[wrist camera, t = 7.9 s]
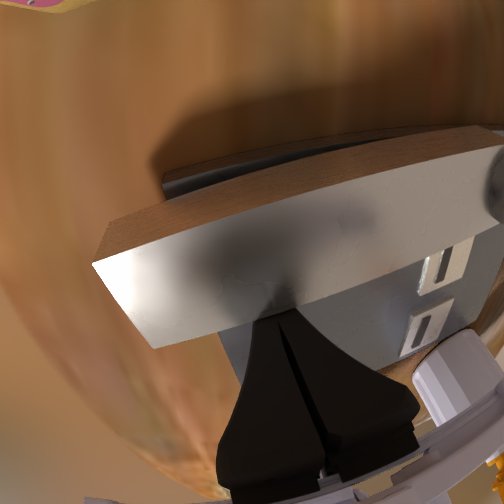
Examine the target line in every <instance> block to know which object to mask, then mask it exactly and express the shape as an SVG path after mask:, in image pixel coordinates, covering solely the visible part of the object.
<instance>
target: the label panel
mask: <svg viewBox="0 0 504 504" xmlns="http://www.w3.org/2000/svg"><path fill="white" fill-rule="evenodd" d="M474 125H478V126H480V127H483V128H485V129H487V130H490V131H492V132H494V133H496V134H499V135H501V136H503V137H504V125H498V124H456V125H431V126H415V127H402V128H391V129H381V130H372V131H363V132H355V133H347V134H340V135H333V136H327V137H320V138H314V139H308V140H303V141H297V142H292V143H286V144H281V145H276V146H271V147H266V148H261V149H257V150H252V151H248V152H243V153H239V154H235V155H230V156H226V157H222V158H218V159H214V160H210V161H206V162H203V163H199V164H195V165H192V166H188V167H184V168H181V169H177V170H174V171H170V172H167V173H164V177H163V181H162V187H163V190H164V193H165V196H166V199H167V200H170V199H173V198H175V197H178V196H181V195H184V194H187V193H190V192H193V191H196V190H199V189H202V188H205V187H208V186H211V185H214V184H217V183H220V182H223V181H226V180H230V179H233V178H236V177H239V176H243V175H246V174H249V173H253V172H256V171H259V170H263V169H266V168H270V167H273V166H277V165H281V164H284V163H288V162H292V161H295V160H299V159H303V158H307V157H311V156H315V155H319V154H323V153H327V152H331V151H335V150H340V149H344V148H348V147H353V146H357V145H362V144H367V143H371V142H376V141H381V140H386V139H391V138H397V137H402V136H407V135H413V134H419V133H425V132H431V131H437V130H444V129H451V128H458V127H466V126H474ZM503 258H504V224H501V223H499V224H497V225H495V226H493V227H491V228H489V229H487V230H485V231H483V232H481V233H479V234H477V235H475V236H473V237H471V238H469V239H466V240H464V241H462V242H460V243H458V244H456V245H454V246H451V247H449V248H447V249H445V250H442V251H440V252H438V253H436V254H433V255H431V256H429V257H426V258H424V259H422V260H420V261H417V262H415V263H412V264H410V265H408V266H405V267H403V268H400V269H398V270H395V271H393V272H391V273H388V274H386V275H383V276H381V277H378V278H375V279H373V280H370V281H368V282H365V283H363V284H360V285H357V286H355V287H352V288H349V289H347V290H344V291H341V292H338V293H336V294H333V295H330V296H327V297H325V298H322V299H319V300H316V301H313V302H310V303H307V304H304V305H302V306H299V307H296V308H297V309H298V310H299V312H300V313H301V314H302V315H303V316H304V317H305V318H306V319H307V320H308V321H309V322H310V323H311V324H312V325H313V326H314V327H315V328H316V329H317V330H318V331H319V332H321V333H322V334H323V335H324V336H325V337H326V338H327V339H329V340H330V341H331V342H332V343H334V344H335V345H336V346H337V347H339V348H340V349H341V350H343V351H344V352H346V353H347V354H348V355H350V356H351V357H353V358H354V359H356V360H358V361H359V362H361V363H362V364H364V365H366V366H367V367H369V368H371V369H372V370H374V371H377V370H379V369H381V368H384V367H386V366H388V365H391V364H393V363H395V362H397V361H400V360H402V359H404V358H406V357H408V356H410V355H412V354H414V353H417V352H419V351H421V350H423V349H425V348H427V347H429V346H431V345H433V344H434V343H436V342H438V341H440V340H442V339H444V338H446V337H448V336H449V335H451V334H453V333H455V332H457V331H458V330H460V329H462V328H464V327H465V326H467V325H469V324H470V323H472V322H474V321H475V320H477V318H478V316H479V314H480V312H481V310H482V308H483V306H484V304H485V302H486V299H487V297H488V295H489V293H490V290H491V288H492V286H493V283H494V281H495V279H496V276H497V274H498V271H499V269H500V266H501V263H502V261H503ZM252 326H253V321H252V322H249V323H246V324H242V325H239V326H236V327H232V328H229V329H225V330H222V331H219V332H218V335H219V337H220V339H221V342H222V344H223V346H224V349H225V351H226V353H227V355H228V358H229V360H230V362H231V364H232V367H233V369H234V371H235V373H236V376H237V378H238V380H239V382H240V384H241V386H242V383H243V380H244V376H245V372H246V368H247V363H248V358H249V352H250V346H251V338H252Z"/></svg>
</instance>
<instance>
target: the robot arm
mask: <svg viewBox="0 0 504 504" xmlns="http://www.w3.org/2000/svg"><path fill="white" fill-rule="evenodd" d="M419 410H420V405H419V403H418V401H417V399H416V398H415V396H414V395H413V394H412V392H411V391H410V390H409V389H408V387H407V386H406V385H403V384H401V383H399V382H396V381H394V380H392V379H390V378H388V377H386V376H384V375H382V374H380V373H378V372H376V371H374V370H372V369H371V368H369V367H367V366H366V365H364V364H362V363H361V362H359V361H358V360H356V359H354V358H353V357H351V356H350V355H348V354H347V353H346V352H344V351H343V350H341V349H340V348H339V347H337V346H336V345H335V344H334V343H332V342H331V341H330V340H329V339H327V338H326V337H325V336H324V335H323V334H322V333H321V332H319V331H318V330H317V329H316V328H315V327H314V326H313V325H312V324H311V323H310V322H309V321H308V320H307V319H306V318H305V317H304V316H303V315H302V314H301V313H300V312H299V310H298V309H297V308H293V309H290V310H287V311H284V312H281V313H277V314H274V315H271V316H268V317H265V318H262V319H259V320H255V321H253V326H252V338H251V346H250V352H249V358H248V363H247V368H246V372H245V376H244V380H243V383H242V387H241V390H240V394H239V397H238V400H237V402H236V405H235V408H234V410H233V413H232V415H231V418H230V420H229V423H228V425H227V427H226V429H225V431H224V433H223V435H222V438H221V440H220V442H219V444H218V450H217V456H216V473H217V479H218V484H219V485H221V486H222V487H225V488H227V489H229V490H230V494H231V498H232V499H231V500H224V501H215V502H205V503H192V504H452V503H451V501H450V498H449V496H448V494H447V491H448V490H449V489H450V488H452V487H453V486H455V485H456V484H457V483H459V482H460V481H461V480H463V479H464V478H465V477H467V476H468V475H469V474H470V473H472V472H473V471H474V470H475V469H477V468H478V467H479V466H480V465H481V464H482V463H484V462H485V461H486V460H487V459H488V458H489V457H491V456H492V455H493V454H494V453H495V452H496V451H497V450H498V449H499V448H500V447H501V446H503V445H504V377H503V378H502V379H501V380H500V382H499V383H498V384H497V385H496V386H495V388H494V389H492V390H491V391H490V392H489V393H487V394H486V395H485V396H483V397H482V398H481V399H479V400H478V401H476V402H475V403H474V404H472V405H471V406H469V407H468V408H467V409H465V410H464V411H462V412H461V413H459V414H458V415H456V416H455V417H453V418H451V419H450V420H448V421H447V422H445V423H443V424H442V425H440V426H439V427H437V428H435V429H433V430H432V431H430V432H428V433H427V434H425V435H423V436H421V437H419V438H417V439H416V437H415V435H414V433H413V431H414V426H413V424H412V422H411V421H412V420H413V419H414V418H415V416H416V415H417V414H418V412H419ZM423 452H424V454H423V457H421V458H419V459H418V460H416V461H414V462H412V463H411V464H409V465H407V466H405V467H403V468H402V469H401V470H400V471H398V472H397V473H395V474H393V475H391V481H392V483H393V487H391V488H388V489H386V490H384V491H382V492H379V493H377V494H375V495H373V496H370V497H369V495H368V494H367V493H365V492H364V491H361V490H359V489H353V490H352V487H351V486H352V485H355V484H357V483H360V482H363V481H365V480H367V479H370V478H372V477H375V476H377V475H379V474H381V473H384V472H385V471H388V470H390V469H392V468H394V467H396V466H399V465H401V464H402V463H404V462H407V461H408V460H410V459H412V458H414V457H416V456H418V455H420V454H421V453H423ZM84 504H123V503H119V502H116V501H112V500H107V499H99V498H91V497H84Z"/></svg>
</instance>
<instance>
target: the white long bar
mask: <svg viewBox="0 0 504 504" xmlns="http://www.w3.org/2000/svg"><path fill="white" fill-rule="evenodd" d="M499 223H501V224H504V137H503V136H501V135H499V134H496V133H494V132H492V131H490V130H487V129H485V128H483V127H480V126H478V125H474V126H466V127H458V128H451V129H444V130H437V131H431V132H425V133H419V134H413V135H407V136H402V137H397V138H391V139H386V140H381V141H376V142H371V143H367V144H362V145H357V146H353V147H348V148H344V149H340V150H335V151H331V152H327V153H323V154H319V155H315V156H311V157H307V158H303V159H299V160H295V161H292V162H288V163H284V164H281V165H277V166H273V167H270V168H266V169H263V170H259V171H256V172H253V173H249V174H246V175H243V176H239V177H236V178H233V179H230V180H226V181H223V182H220V183H217V184H214V185H211V186H208V187H205V188H202V189H199V190H196V191H193V192H190V193H187V194H184V195H181V196H178V197H175V198H173V199H170V200H167V201H164V202H161V203H159V204H156V205H153V206H151V207H148V208H145V209H143V210H140V211H137V212H135V213H132V214H129V215H127V216H124V217H122V218H119V219H117V220H114V221H112V222H109V224H108V227H107V229H106V231H105V233H104V236H103V238H102V240H101V243H100V245H99V248H98V250H97V253H96V255H95V258H94V260H93V263H92V264H93V266H94V268H95V269H96V271H97V272H98V274H99V275H100V277H101V278H102V280H103V281H104V283H105V284H106V286H107V287H108V289H109V290H110V292H111V293H112V295H113V296H114V297H115V299H116V300H117V302H118V303H119V304H120V306H121V307H122V309H123V310H124V311H125V313H126V314H127V315H128V317H129V318H130V319H131V321H132V322H133V323H134V325H135V326H136V327H137V329H138V330H139V331H140V333H141V334H142V335H143V336H144V338H145V339H146V340H147V341H148V343H149V344H150V345H151V346H152V348H153V349H155V348H159V347H163V346H167V345H171V344H175V343H178V342H182V341H186V340H190V339H193V338H197V337H201V336H204V335H208V334H212V333H215V332H219V331H222V330H225V329H229V328H232V327H236V326H239V325H242V324H246V323H249V322H252V321H255V320H259V319H262V318H265V317H268V316H271V315H274V314H277V313H281V312H284V311H287V310H290V309H293V308H296V307H299V306H302V305H304V304H307V303H310V302H313V301H316V300H319V299H322V298H325V297H327V296H330V295H333V294H336V293H338V292H341V291H344V290H347V289H349V288H352V287H355V286H357V285H360V284H363V283H365V282H368V281H370V280H373V279H375V278H378V277H381V276H383V275H386V274H388V273H391V272H393V271H395V270H398V269H400V268H403V267H405V266H408V265H410V264H412V263H415V262H417V261H420V260H422V259H424V258H426V257H429V256H431V255H433V254H436V253H438V252H440V251H442V250H445V249H447V248H449V247H451V246H454V245H456V244H458V243H460V242H462V241H464V240H466V239H469V238H471V237H473V236H475V235H477V234H479V233H481V232H483V231H485V230H487V229H489V228H491V227H493V226H495V225H497V224H499Z"/></svg>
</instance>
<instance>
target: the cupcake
mask: <svg viewBox="0 0 504 504" xmlns="http://www.w3.org/2000/svg"><path fill="white" fill-rule="evenodd" d="M94 1H97V0H0V4H6V5H11V6H16V7H22V8H27V9H33V10H38V11H43V12H50V13H63V12H68V11H71V10H74V9H77V8H79V7H81V6H84V5H86V4H89V3H91V2H94Z"/></svg>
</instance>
